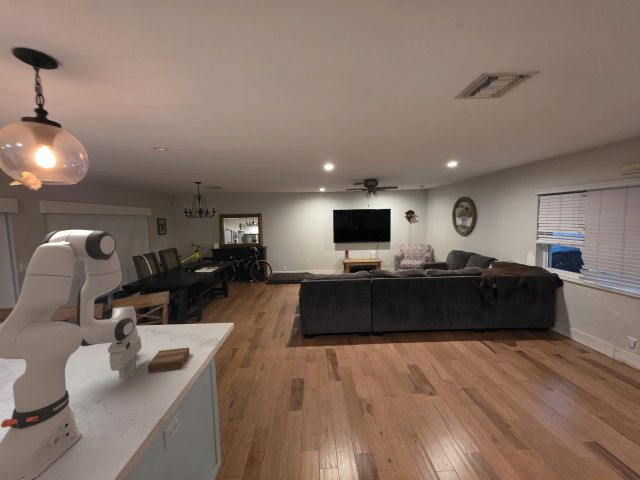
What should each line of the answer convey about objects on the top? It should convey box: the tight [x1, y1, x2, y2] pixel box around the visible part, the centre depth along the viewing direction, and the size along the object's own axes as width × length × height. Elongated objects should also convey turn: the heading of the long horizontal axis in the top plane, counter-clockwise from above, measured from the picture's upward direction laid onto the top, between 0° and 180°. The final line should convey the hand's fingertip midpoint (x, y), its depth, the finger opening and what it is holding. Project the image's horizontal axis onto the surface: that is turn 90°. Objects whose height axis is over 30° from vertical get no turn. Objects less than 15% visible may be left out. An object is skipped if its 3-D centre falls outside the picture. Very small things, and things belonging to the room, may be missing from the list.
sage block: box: [118, 359, 138, 379], centre depth 122 cm, size 5×5×5 cm
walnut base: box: [147, 347, 190, 374], centre depth 130 cm, size 14×14×4 cm
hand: (128, 369), depth 122 cm, fingers open, 8 cm apart
